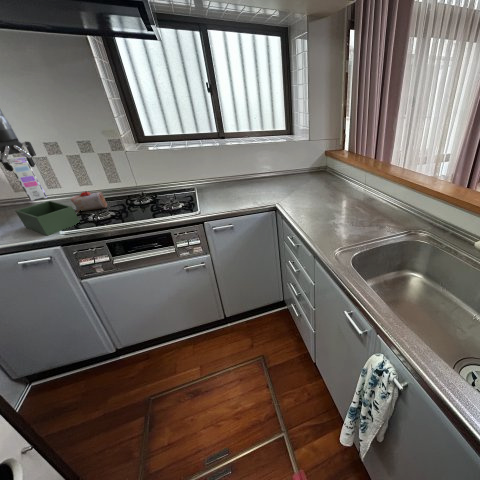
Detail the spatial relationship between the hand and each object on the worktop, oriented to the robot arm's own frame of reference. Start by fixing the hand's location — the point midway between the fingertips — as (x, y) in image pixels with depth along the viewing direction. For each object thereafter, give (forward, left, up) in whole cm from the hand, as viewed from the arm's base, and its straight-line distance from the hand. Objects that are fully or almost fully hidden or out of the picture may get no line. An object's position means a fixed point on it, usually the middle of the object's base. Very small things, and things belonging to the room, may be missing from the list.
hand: (22, 168), depth 117 cm
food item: (+11, +16, -28) cm, 34 cm away
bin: (+1, -2, -27) cm, 28 cm away
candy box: (0, 0, -13) cm, 13 cm away
